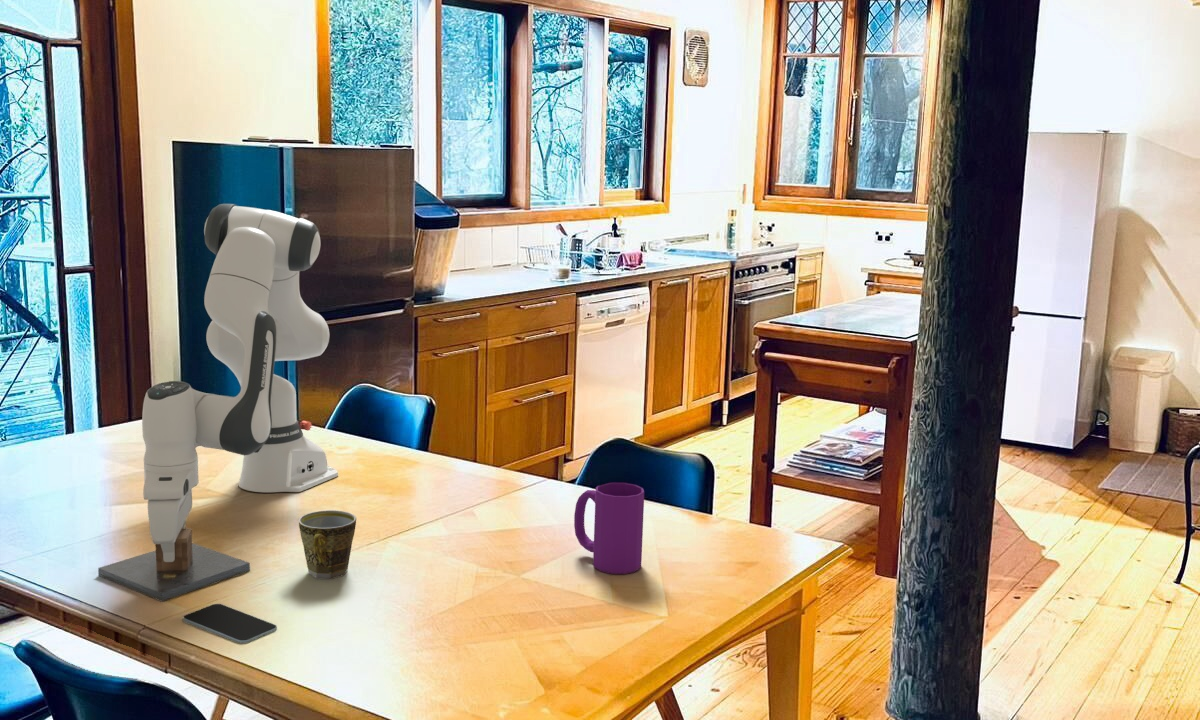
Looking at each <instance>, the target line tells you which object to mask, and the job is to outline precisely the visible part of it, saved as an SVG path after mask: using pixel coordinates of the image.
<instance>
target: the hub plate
mask: <svg viewBox="0 0 1200 720" xmlns="http://www.w3.org/2000/svg"><path fill="white" fill-rule="evenodd" d="M192 557H193V560H192V562H191V564H190V566H189V569H188V570H173V571H157V567H156V549H155V550H152V551H149V552H146V553H143V554H138V555H135V556H133V557H130V558H126V559H124V560H123V559H122V560H120V561H117V562H113V563H110V564H107V565H104V566H100V567H98V577H100V578H102V579H105V580H107V581H110V582H112V583H115V584H118V585H120V586H122V587H124V588H127V589H129V590H132V591H135V592H137V593H140V594H142V595H145V596H148V597H150V598H152V599H155V600H157V601H160V602H165V601H168V600H171V599H173V598H176V597H179V596H182V595H184V594H188V593H191V592H193V591H196V590H199V589H203V588H205V587H208V586H210V585H214V584H216V583H219V582H221V581H222V582H223V581H224V580H227V579H230V578H233V577H236V576H238V575H242V574H244V573H247V572H251V562H249V561H245V560H243V559H241V558H237V557H234V556H231V555H229V554H225V553H223V552H220V551H216V550H213V549H211V548H208V547H205V546H204V545H203V546H202V545H200V544H197V543H194V542H192Z"/></svg>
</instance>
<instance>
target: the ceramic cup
mask: <svg viewBox="0 0 1200 720" xmlns="http://www.w3.org/2000/svg"><path fill="white" fill-rule="evenodd" d="M356 525H357V517H356V515H355V514H353V513H350V512H348V511H344V510H330V509H329V510H318V511H313V512H309V513H306V514H304V515H302V516H301V517H300V518H299V519H298V527H299V532H300V538H301V542H302V545H303V551H304V556H305V561H306V565H307V566H306V567H307V571H308V573H309V575H310V576H311V577H314V578H316V579H322V580H332V579H335V578H339V577H343V576H344V575H345V574H346V572H347V570H348V568H349V564H350V558H351V557H350V556H351V552H352V548H353V547H352V546H353V545H352V544H353V540H354V536H355V532H356V528H357V527H356Z"/></svg>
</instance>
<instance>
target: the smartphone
mask: <svg viewBox="0 0 1200 720" xmlns="http://www.w3.org/2000/svg"><path fill="white" fill-rule="evenodd" d="M182 621H183V622H184V623H185V624H189V625H190V626H193V627H196V628H199V629H201V630H204V631H206V632H209V633H211V634H214V635H216V636H219V637H222V638H225V639H227V640H228V641H229V640H230V641H233V642H234V643H237V644H241V645H242V644H248V643H251V642H252V641H255V640H258V639H260V638H261V637H262V636H263V637H265V636H267V635H270V634H272V633H275V631H277V629H278V626H277V625H276V624H274V623H272V622H270V621H266V620H264V619H263V618H262V619H261V618H259V617H256V616H253V615H252V614H249V613H246V612H243V611H241V610H238V609H235V608H234V607H230V606H228V605H226V604H222V603H212V604H210V605H206V606H205V607H202V608H200V609H197V610H195V611H192V612H189V613H186V614H185V615H183V617H182Z"/></svg>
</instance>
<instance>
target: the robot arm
mask: <svg viewBox="0 0 1200 720" xmlns="http://www.w3.org/2000/svg"><path fill="white" fill-rule="evenodd" d="M203 233H204V243H205V245H206V247H207V249H208V250H209V251H210V253H213V254H214V255H215V259H214V261H213V265H212V267H211V270H210V273H209V278H208V281H207V283H206V287H205V291H204V297H203V299H204V300H203V301H204V308H205V310H206V312H207V314H208V316H209V317H210V319H211V321H210V323H209V325H208V327H207V329H206V335H205V336H206V337H205V338H206V339H205V340H206V344H207V346H208V347H207V348H208V349H209V352H210V353H211V354H212V356H214V358H216V359H217V360H218V361H220V362H221V363H222V364H224V365H225V366H226V367H228V368H229V370H230V371H231V372H232V373H233V374H234V376H235V377H236V378H237V381H238V383H239V385H240V391H239V393H238V394H237V395H236V396H229V395H222V394H220V395H219V394H215V393H208V392H207V393H206V392H202V391H199V390H196V389H194V388H193V387H192V386H191V385H190V383H188V382H186V381H182V380H181V381H180V380H171V381H164V382H160V383H157V384H154V385H152V386H151V387H150V388H149V389H147V391H146V393H145V396H144V398H143V403H142V414H141V415H142V416H141V417H142V419H141V423H142V425H141V426H142V428H141V429H142V431H141V432H142V439H143V442H144V445H145V452H144V456H143V472H144V473H143V474H144V475H143V476H144V477H143V478H144V484H143V489H142V490H143V491H142V494H143V495H142V496H143V497H142V498H143V500H146V501H147V516H148V517H147V518H148V523H149V532H150V537H151V541H152V543H153V544H154V545H156V544H161V548H162V551H163V560H164V562H173V561H174V560H175V557H176V551H175V546H174V543H175V541H176V539H177V537H178V535H179V533H180V531H181V529H186V521H187V519H188V516H189V515H190V513H191V510H192V507H193V488H196V486H198V485H199V483H200V482H199V459H198V458H199V457H198V452H197V449H196V448H197V447H198V448H199V447H202V448H206V449H207V448H208V449H213V450H214V449H215V450H221V451H225V452H228V453H233V454H237V455H240V456H243V459H242V467H241V472H240V478H239V481H238V487H239V488H240V489H242V490H245V491H248V492H253V493H254V492H255V493H281V492H286V493H287V492H289V493H299V492H303V491H305V490H307V489H310V488H312V487H314V486H317V485H320V484H322V483H325V482H327V481H329V480H332V479H335V478H337V477H338V476H339V472H338V470H337V469H336V468H334V467H331V466H328V459H327V454H326V451H325V450H324V449H323V448H322V447H321V446H319V445H318V444H316V443H315V442H313V441H312V440H310V439H309V438H307V436H305V435H304V433H303V430H305V431H311V429H312V426H313V425H312V422H311V421H306V420H301V421H299V420H297V394H296V393H297V392H296V388H295V386H294V385H293V383H292V382H291V381H289V380H287V379H286V378H284V377H282V376H281V375H277V374H275V372H274V371H275V362H279V361H280V362H281V361H282V362H283V361H286V362H287V361H302V360H303V361H304V360H306V359H312V358H316V357H319V356H321V355H322V354H323V353H324V352H325V350H326V349H327V347H328V345H329V343H330V329H329V325H328V323H327V321H326V320H325V318H324V317H323V316H322V315H321V314H320V313H319V312H316V311H314V309H313V310H312V309H311V308H310V307H309V306H308V305H307V304H306V303H305V302H304V300H303V298H302V296H301V292H300V272H304V271H306V270H308V269H311V268H312V267H313V265H314V263H315V261H316V260H317V258H318V256H319V254H320V250H321V237H320V230H319V228H318V226H317V225H316V224H315V223H314V222H312V221H311V220H308V219H306V218H303V217H299V218H298V217H296V216H293V215H289V214H286V213H283V212H280V211H276V210H271V209H263V208H259V207H258V208H257V207H252V206H251V207H250V206H239V205H237V204H236V203H220V204H218V205H217V206H215V207H213V208H211V211H210V212H209V214H208V217H207V218H206V220H205V222H204V229H203Z"/></svg>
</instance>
